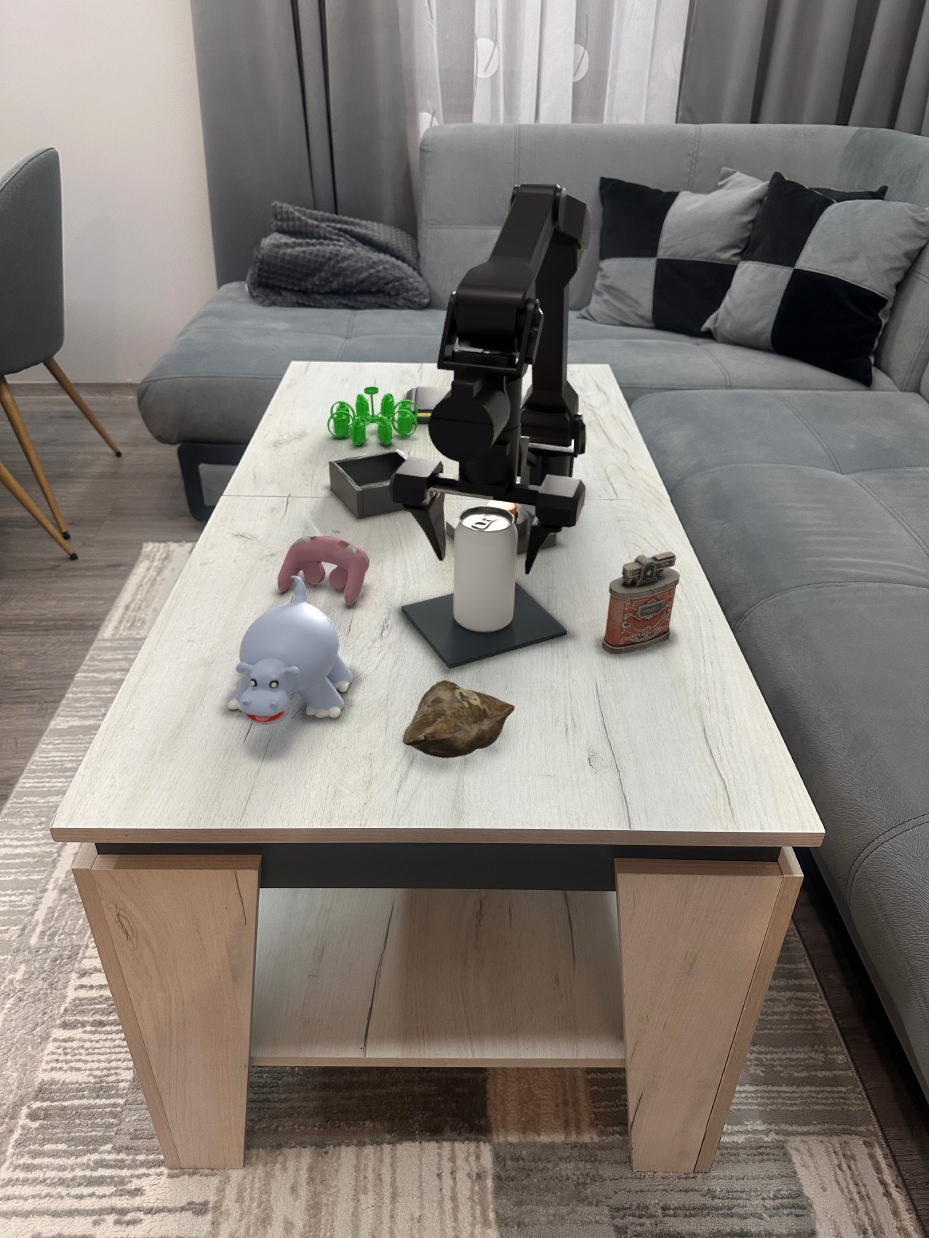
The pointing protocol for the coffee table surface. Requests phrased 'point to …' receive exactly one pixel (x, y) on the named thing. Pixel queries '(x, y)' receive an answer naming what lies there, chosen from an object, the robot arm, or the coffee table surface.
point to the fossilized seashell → (456, 721)
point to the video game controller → (330, 550)
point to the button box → (522, 526)
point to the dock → (366, 482)
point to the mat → (470, 646)
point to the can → (484, 568)
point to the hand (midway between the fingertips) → (484, 565)
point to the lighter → (641, 604)
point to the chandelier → (372, 418)
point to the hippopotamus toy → (290, 663)
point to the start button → (504, 506)
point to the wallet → (425, 401)
